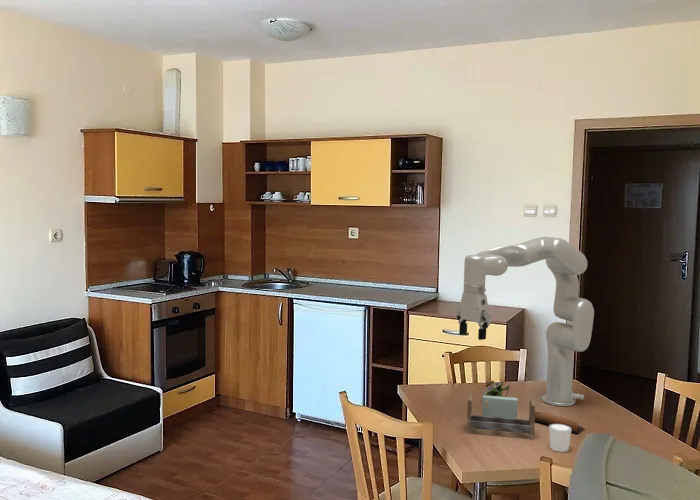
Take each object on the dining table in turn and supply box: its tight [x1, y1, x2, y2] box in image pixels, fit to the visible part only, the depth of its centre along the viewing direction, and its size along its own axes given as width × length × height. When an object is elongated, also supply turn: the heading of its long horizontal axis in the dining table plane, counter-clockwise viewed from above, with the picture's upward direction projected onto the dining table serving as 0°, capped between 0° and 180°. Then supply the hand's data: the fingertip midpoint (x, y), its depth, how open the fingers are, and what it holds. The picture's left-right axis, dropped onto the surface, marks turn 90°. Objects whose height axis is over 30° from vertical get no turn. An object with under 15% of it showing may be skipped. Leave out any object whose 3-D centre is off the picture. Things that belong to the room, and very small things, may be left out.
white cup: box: [548, 424, 572, 453], centre depth 202 cm, size 7×7×7 cm
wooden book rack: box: [466, 392, 536, 440], centre depth 216 cm, size 22×8×12 cm, turn 78°
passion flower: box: [483, 380, 510, 397], centre depth 244 cm, size 11×11×12 cm
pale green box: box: [481, 394, 518, 419], centre depth 225 cm, size 12×4×9 cm, turn 78°
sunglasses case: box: [534, 411, 587, 435], centre depth 223 cm, size 18×7×7 cm
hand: (472, 336), depth 226 cm, fingers open, 9 cm apart
